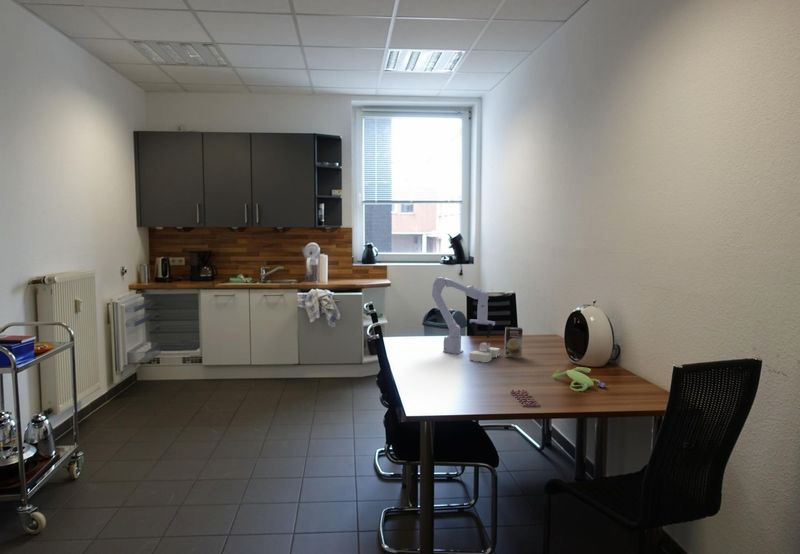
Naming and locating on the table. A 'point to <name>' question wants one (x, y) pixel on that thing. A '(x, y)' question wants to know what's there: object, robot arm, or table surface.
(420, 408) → the table surface
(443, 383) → the table surface
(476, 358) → the white block pair
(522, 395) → the chocolate bar
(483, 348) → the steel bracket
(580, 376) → the figurine
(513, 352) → the coffee box
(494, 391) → the table surface
